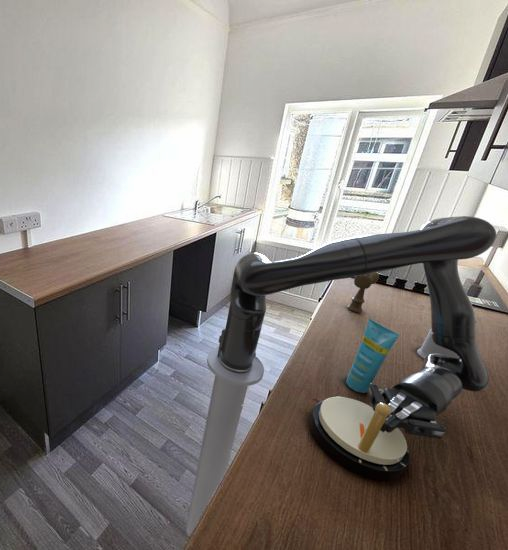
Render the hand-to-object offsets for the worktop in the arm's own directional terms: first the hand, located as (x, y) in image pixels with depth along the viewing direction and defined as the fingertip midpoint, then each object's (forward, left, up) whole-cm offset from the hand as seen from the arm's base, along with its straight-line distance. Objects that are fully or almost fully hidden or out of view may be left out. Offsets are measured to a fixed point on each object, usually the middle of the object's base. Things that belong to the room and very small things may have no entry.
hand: (380, 426), depth 54 cm
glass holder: (-9, +63, -11) cm, 64 cm away
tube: (-13, +23, -11) cm, 28 cm away
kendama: (-38, +68, -11) cm, 78 cm away
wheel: (-4, +5, -8) cm, 10 cm away
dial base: (-4, +5, -11) cm, 13 cm away
